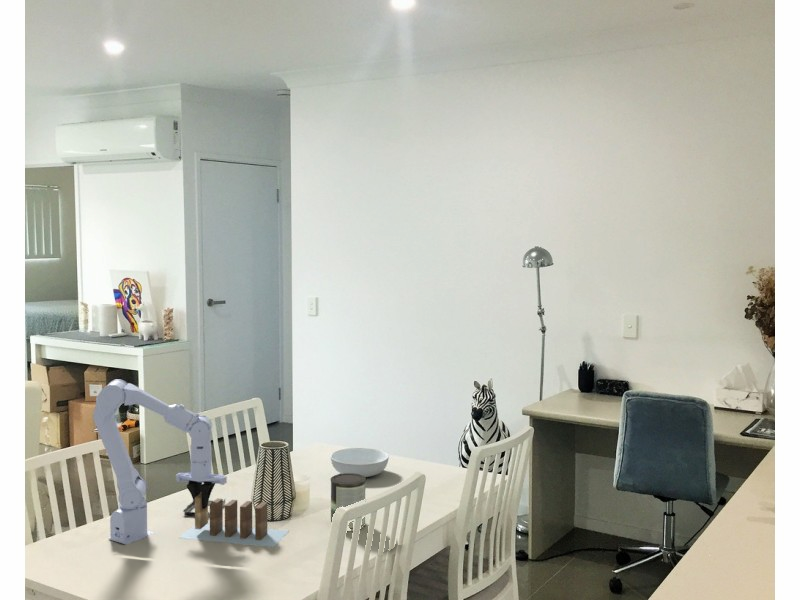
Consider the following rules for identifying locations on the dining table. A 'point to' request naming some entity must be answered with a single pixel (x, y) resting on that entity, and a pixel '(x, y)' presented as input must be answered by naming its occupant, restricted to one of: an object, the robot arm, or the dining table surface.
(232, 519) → the domino
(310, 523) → the dining table surface
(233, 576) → the dining table surface
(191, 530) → the board
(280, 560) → the dining table surface
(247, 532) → the domino
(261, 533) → the domino
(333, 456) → the serving bowl
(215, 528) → the domino
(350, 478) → the coffee can
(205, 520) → the oak domino
